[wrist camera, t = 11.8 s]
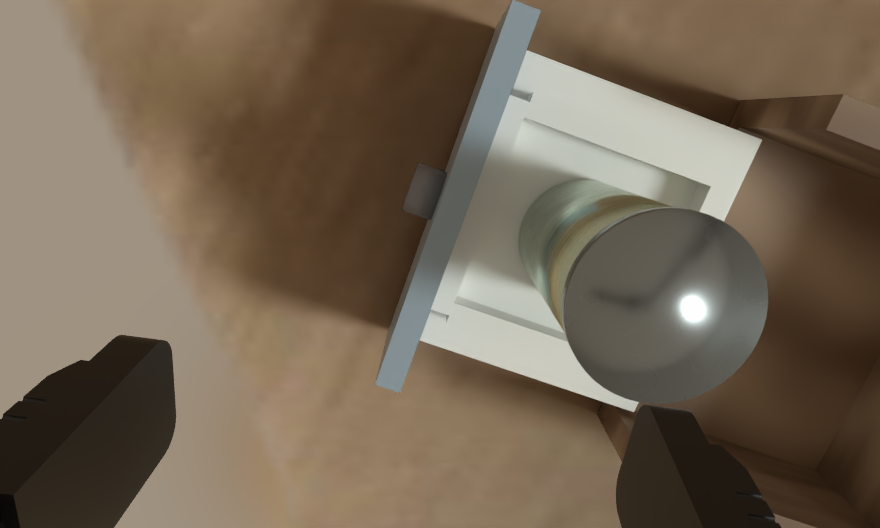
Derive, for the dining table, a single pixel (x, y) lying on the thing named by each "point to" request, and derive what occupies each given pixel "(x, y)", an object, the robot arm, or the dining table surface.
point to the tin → (644, 289)
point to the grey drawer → (520, 183)
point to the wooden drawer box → (805, 317)
